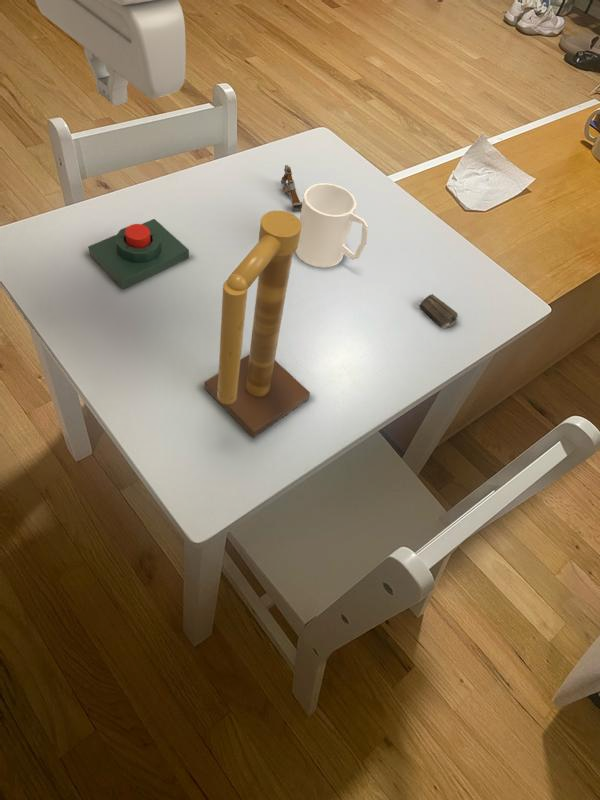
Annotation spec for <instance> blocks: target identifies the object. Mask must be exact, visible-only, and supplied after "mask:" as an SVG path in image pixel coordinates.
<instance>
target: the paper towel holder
mask: <svg viewBox="0 0 600 800" xmlns="http://www.w3.org/2000/svg"><path fill="white" fill-rule="evenodd" d="M293 254H294V253H292V254H290V255H286V256H276V255H275V256H274V257H273V259H272V260H271V261H270V262H269V263H268V265H267V266H266V267H265V268H264V270H263V271H262V272H261V273H260V275H259V276H258V277H257V287H256V295H255V304H254V312H253V314H254V315H253V321H252V330H251V338H250V347H249V348H250V349H249V354H248V355H246V356H244V357H243V358H241V360H240V370H239V381H238V391H237V399H236V401H235V402H233V403H232V404H223V403H221V402H220V401H219V400H218V397H217V393H218V374H219V372H218V373H217V374H215V375H213V376H212V377H210V378H208V379H206V380H205V381H204V389H205V391H206V392H207V393H208V394H209V395H210V396H211V397H212V398H213V399H214V400H215V401H216V402H217V403H218V404H219V405H220V406H221V407H222V408H223V409H224V410H225V411H226V412H227V413H228V414H229V415H230V416H231V417H232V418H233V419H234V420H235V421H236V422H237V423H238V424H239V425H240V426H241V427H242V428H243V429H244V431H246V432H247V433H248V434H249V435H250V436H251V437H252V438H253V439H254V438H255V437H256V436H258V435H260V434H261V433H262V432H264V431H265V430H267V429H268V428H270V427H271V426H273V425H274V424H276V423H277V422H278V421H279V420H281V419H282V418H284V417H285V416H287V415H288V414H289V413H291V412H292V411H294V410H295V409H296V408H298V407H299V406H301V405H302V404H303V403H305V402H307V401H308V400H309V399H310V395H311V392H310V391H309V390H308V389H307V388H306V387H305V386H304V385H303V384H301V383H300V381H298V379H296V378H295V377H294V376H293V375H292V374H290V372H289V371H287V370H286V368H284V367H283V366H282V365H281V364H280V363H279V362H277V360H276V354H277V350H278V349H277V348H278V343H279V338H280V332H281V325H282V320H283V314H284V307H285V302H286V297H287V290H288V284H289V277H290V274H291V268H292V267H291V266H292V260H293Z"/></svg>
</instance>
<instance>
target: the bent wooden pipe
mask: <svg viewBox="0 0 600 800" xmlns="http://www.w3.org/2000/svg"><path fill="white" fill-rule="evenodd" d="M300 232H301V222H300V218H299V217H298V216H296V215H295V214H293V213H291V212H288V211H285V210H271V211H268V212H266V213H264V214H263V215H262V217H261V219H260V225H259V234H258V242H257V243H256V244H255V245H254V247H253V248H252V249H251V250H250V251H249V252H248V254H247V255H246V256H245V257H244V258H243V259H242V261H241V262H240V263H239V264H238V265H237V267H236V268H234V270H233V271H232V272H231V274H230V275H229V276H228V278H227V279H226V280H225V281H224V283H223V284H222V299H221V300H222V301H221V317H220V318H221V319H220V335H219V336H220V339H219V355H218V373H219V374H218V373H217V374H218V393H217V397H218V400H219V401H220V402H221V403H223V404H232V403H233V402H235V401H236V399H237V391H238V381H239V370H240V360H241V359H242V349H243V339H244V330H245V329H244V327H245V319H246V309H247V299H248V289H249V288H250V287H251V286H252V284H254V282H255V281H256V280H257V279H258V277H259V275H260V273H261V272H262V271H263V270H264V268H265V267H266V266H267V265H268V263H269V262H270V261H271V260H272V259H273V257H274V256H275V255H276V256H286V255H290V254H292V253H293V254H294V253H296V250H297V248H298V244H299V238H300Z"/></svg>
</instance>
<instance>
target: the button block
mask: <svg viewBox="0 0 600 800" xmlns="http://www.w3.org/2000/svg"><path fill="white" fill-rule="evenodd" d="M141 224H142V225H145V226H147V227H148V228H149V230H150V238H151V242H150V244H149V245H148V246H147V247H144V248H133V247H130V246H129V245H128V244H127V242H126V236H125V230H126V228H127V227H128V226H126V227H123V228H121V229H120V230H119V231H118V232H117V234H115V235H112V236H110V237H108V238H105V239H102V240H101V241H98V242H96V243H93V244H90V245H88V246H87V248H88V255H89V256H90V257H91V258H92V260H94V261H95V262H96V263H97V264H98V265H99V266H100V267H101V268H102V269H103V271H105V272H106V274H108V275H109V276H110V277H111V278H112V279H113V280H114V281H115V282H116V283H117V284H118V285H119V286H120V287H121V288H122V290H125V289H127V288H129V287H132V286H134V285H135V284H137V283H140V282H142V281H144V280H146V279H148V278H150V277H152V276H154V275H156V274H158V273H161V272H163V271H165V270H167V269H169V268H171V267H173V266H176V265H177V264H180V263H181V262H184V261H187V260H188V259H189V258H190V249H189V248H188V247H186V245H184V244H183V243H182V242H181V241H180V240H179V239H177V238H176V236H174V235H173V234H172V233H171V232H169V230H167V229H166V228H165V227H164V226H163V225H162V224H161V223H160V222H158V221H157V220H156V219H155V218H153V219H150V220H148V221H145V222H143V223H141Z"/></svg>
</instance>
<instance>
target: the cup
mask: <svg viewBox="0 0 600 800" xmlns="http://www.w3.org/2000/svg"><path fill="white" fill-rule="evenodd" d="M302 202H303V203H302V209H300V215H299V220H300V222H301V232H300V238H299V244H298V248H297V250H296V251H295V253H296V256H297V257H298V258H299V259H300V260H301V261H302V262H304V263H305V264H307V265H310V266H312V267H316V268H332V267H334V266H337V265H338V264H339V263H340V262H341V261H342V260H343V258H344V256H346V257H347V258H348V259H350V260H352V261H353V260H357V259H359V258H360V256H361V255H362V253H363V251H364V250H365V247H366V245H367V241H368V232H369V225H368V223H367V222H366V220H365V219H363V218H362V217H360V216H359V215H357V214H356V213H355V212H356V209H357V200H356V197H355V196H354V194H353V193H352V192H351V191H349V190H348V189H346V188H345V187H343V186H340V185H337V184H334V183H326V182H321V183H316V184H313V185H310V186H309V187H307V188H306V190H305V191H304V194H303V198H302ZM353 222H354V223H358V224H361V236H360V243H359V244H358V247H357V249H356V250H355V252H353V251H352V250H351V249H350V248H348V246H347V243H348V239H349V235H350V232H351V226H352V223H353Z"/></svg>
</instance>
